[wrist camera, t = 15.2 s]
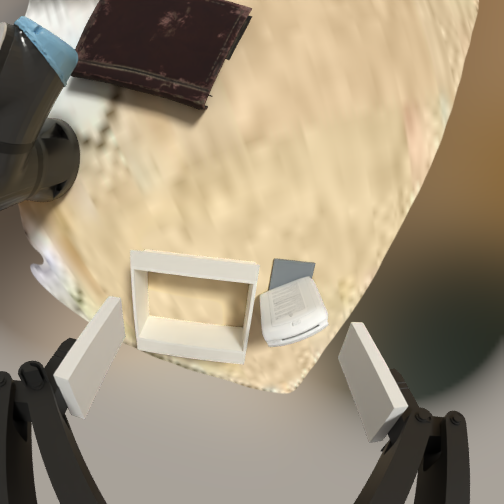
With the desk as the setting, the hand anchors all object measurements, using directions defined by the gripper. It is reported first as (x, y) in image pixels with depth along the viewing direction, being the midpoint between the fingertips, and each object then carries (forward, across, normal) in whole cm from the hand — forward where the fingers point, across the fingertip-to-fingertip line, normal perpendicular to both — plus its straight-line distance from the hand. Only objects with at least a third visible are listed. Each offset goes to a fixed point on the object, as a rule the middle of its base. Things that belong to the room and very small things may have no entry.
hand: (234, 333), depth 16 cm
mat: (+32, +10, -14) cm, 36 cm away
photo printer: (+31, +10, -14) cm, 36 cm away
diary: (+32, -17, +26) cm, 45 cm away
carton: (+32, -6, -16) cm, 36 cm away
